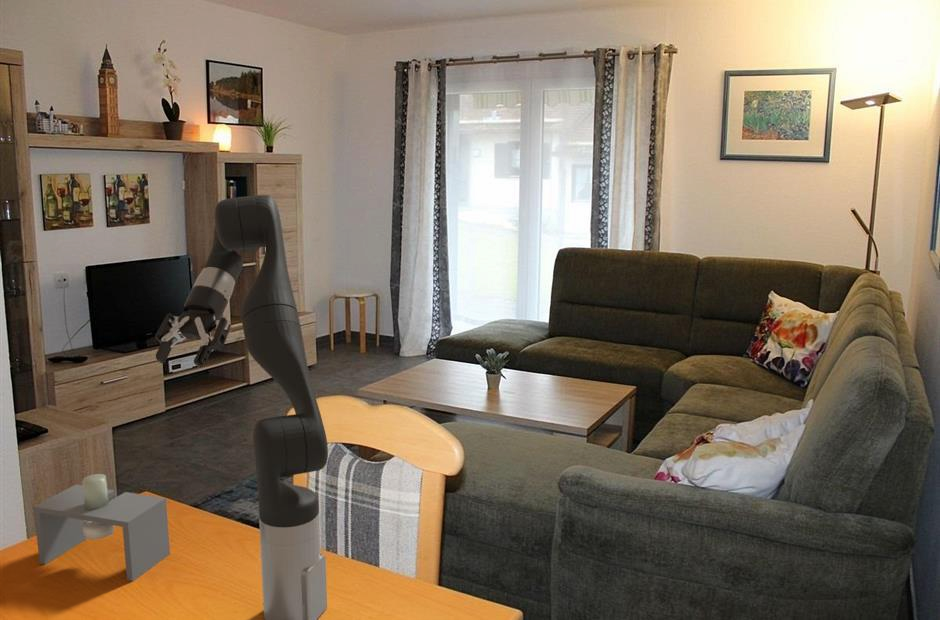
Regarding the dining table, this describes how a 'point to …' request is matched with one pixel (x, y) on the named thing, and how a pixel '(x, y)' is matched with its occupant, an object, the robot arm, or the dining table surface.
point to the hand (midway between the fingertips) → (178, 363)
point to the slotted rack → (131, 511)
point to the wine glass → (96, 505)
